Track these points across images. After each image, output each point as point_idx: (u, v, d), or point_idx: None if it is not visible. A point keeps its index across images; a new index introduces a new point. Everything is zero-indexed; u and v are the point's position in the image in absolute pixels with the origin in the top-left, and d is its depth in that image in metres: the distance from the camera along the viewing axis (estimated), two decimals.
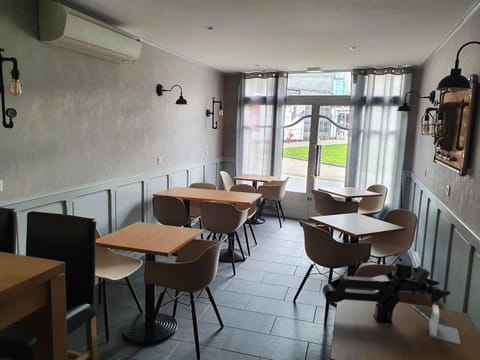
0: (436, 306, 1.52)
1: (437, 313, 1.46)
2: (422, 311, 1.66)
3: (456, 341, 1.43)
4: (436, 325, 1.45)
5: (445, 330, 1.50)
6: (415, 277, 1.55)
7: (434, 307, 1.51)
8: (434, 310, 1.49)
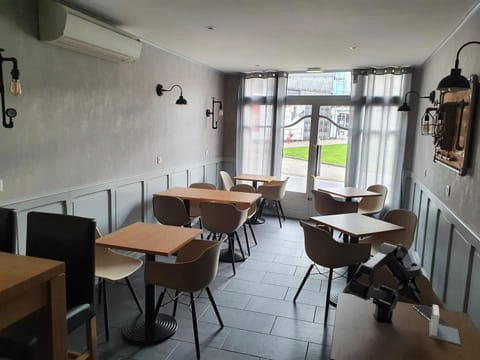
0: (436, 306, 1.52)
1: (437, 313, 1.46)
2: (422, 311, 1.66)
3: (456, 341, 1.43)
4: (436, 325, 1.45)
5: (445, 330, 1.50)
6: (407, 268, 1.53)
7: (434, 307, 1.51)
8: (434, 310, 1.49)
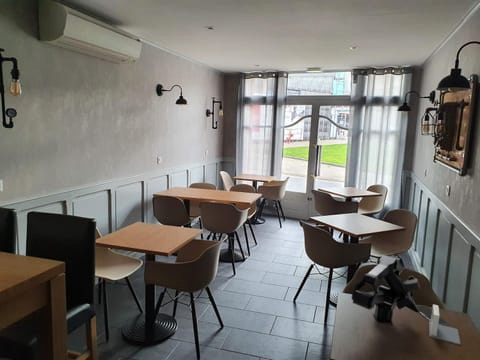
0: (436, 306, 1.52)
1: (437, 313, 1.46)
2: (422, 311, 1.66)
3: (456, 341, 1.43)
4: (436, 325, 1.45)
5: (445, 330, 1.50)
6: (405, 282, 1.54)
7: (434, 307, 1.51)
8: (434, 310, 1.49)
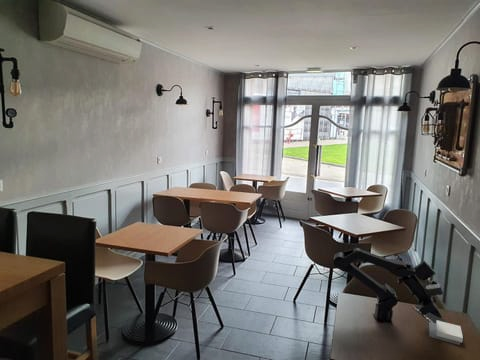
0: None
1: None
2: None
3: (456, 341, 1.43)
4: (449, 338, 1.44)
5: None
6: (427, 287, 1.50)
7: None
8: (461, 333, 1.45)
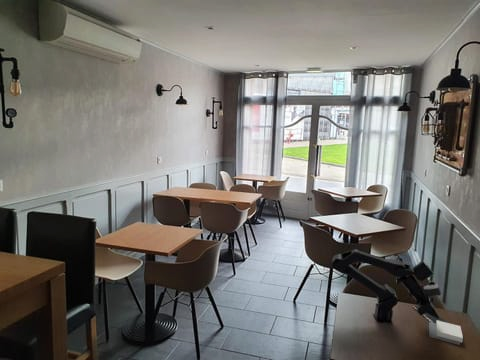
0: None
1: None
2: None
3: (456, 341, 1.43)
4: (449, 338, 1.44)
5: None
6: (425, 287, 1.51)
7: None
8: (461, 333, 1.45)
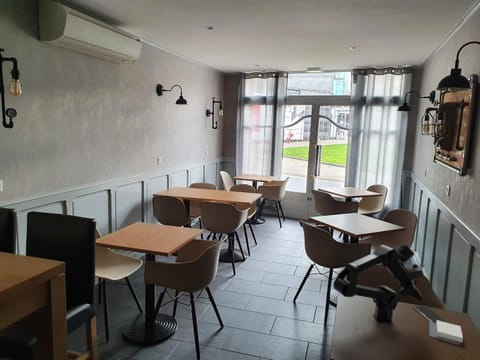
0: None
1: None
2: (422, 311, 1.66)
3: (456, 341, 1.43)
4: (449, 338, 1.44)
5: None
6: (409, 270, 1.53)
7: None
8: (461, 333, 1.45)
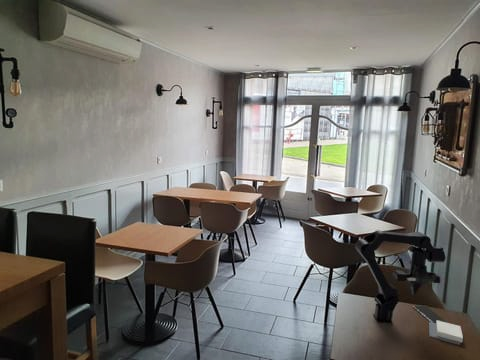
0: None
1: None
2: (422, 311, 1.66)
3: (456, 341, 1.43)
4: (449, 338, 1.44)
5: None
6: (422, 270, 1.51)
7: None
8: (461, 333, 1.45)
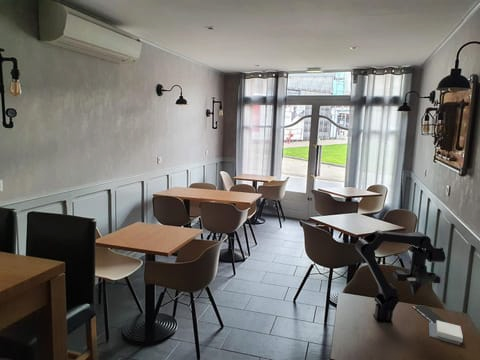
0: None
1: None
2: (422, 311, 1.66)
3: (456, 341, 1.43)
4: (449, 338, 1.44)
5: None
6: (422, 270, 1.51)
7: None
8: (461, 333, 1.45)
